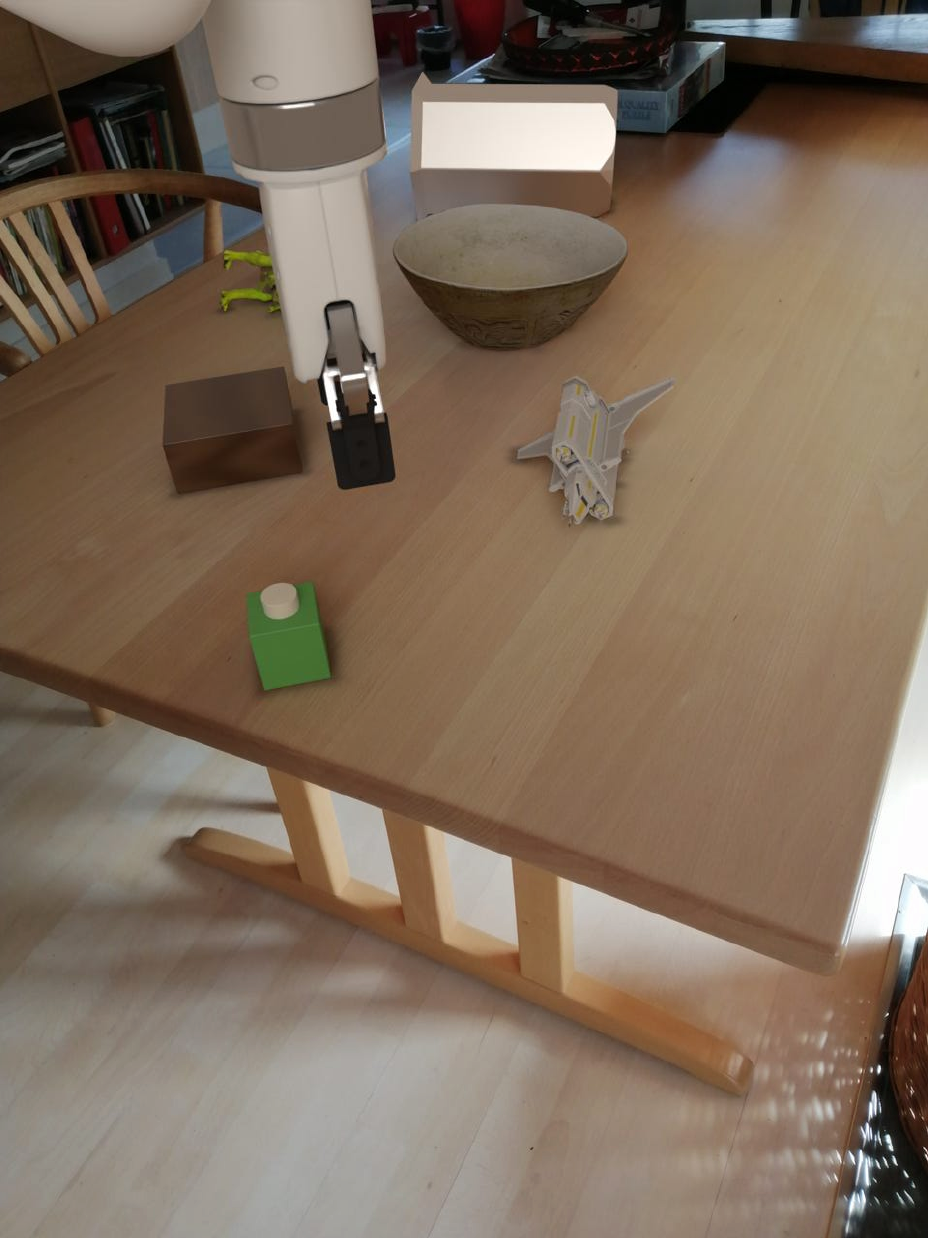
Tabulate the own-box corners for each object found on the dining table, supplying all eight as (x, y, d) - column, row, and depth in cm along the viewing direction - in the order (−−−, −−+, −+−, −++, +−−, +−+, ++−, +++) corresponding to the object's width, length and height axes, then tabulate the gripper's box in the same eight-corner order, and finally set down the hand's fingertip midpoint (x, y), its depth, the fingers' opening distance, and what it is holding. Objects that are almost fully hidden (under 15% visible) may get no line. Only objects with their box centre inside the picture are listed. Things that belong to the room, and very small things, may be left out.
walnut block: (177, 494, 87) (162, 444, 84) (179, 432, 96) (165, 384, 92) (302, 472, 88) (292, 423, 85) (293, 413, 97) (284, 365, 93)
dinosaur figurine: (190, 290, 122) (177, 239, 118) (265, 267, 126) (255, 216, 122) (264, 344, 109) (252, 288, 105) (345, 316, 113) (337, 262, 109)
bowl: (639, 288, 113) (643, 196, 106) (606, 389, 96) (608, 288, 89) (439, 280, 119) (431, 193, 112) (374, 375, 102) (361, 278, 95)
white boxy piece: (422, 248, 137) (405, 143, 119) (433, 154, 142) (418, 39, 125) (606, 252, 135) (616, 145, 117) (610, 156, 140) (620, 39, 122)
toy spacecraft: (542, 480, 91) (696, 411, 84) (520, 588, 80) (695, 521, 73) (495, 411, 87) (652, 333, 80) (465, 515, 76) (643, 436, 69)
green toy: (264, 691, 68) (244, 622, 64) (260, 647, 71) (242, 579, 67) (331, 678, 68) (316, 609, 64) (324, 635, 72) (310, 567, 68)
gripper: (223, 92, 54) (283, 382, 65) (231, 194, 41) (305, 534, 52) (361, 75, 54) (397, 364, 66) (412, 169, 42) (446, 509, 53)
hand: (356, 439), depth 59 cm, fingers open, 9 cm apart
